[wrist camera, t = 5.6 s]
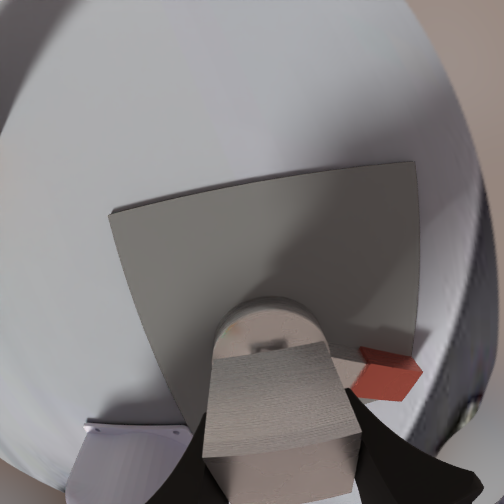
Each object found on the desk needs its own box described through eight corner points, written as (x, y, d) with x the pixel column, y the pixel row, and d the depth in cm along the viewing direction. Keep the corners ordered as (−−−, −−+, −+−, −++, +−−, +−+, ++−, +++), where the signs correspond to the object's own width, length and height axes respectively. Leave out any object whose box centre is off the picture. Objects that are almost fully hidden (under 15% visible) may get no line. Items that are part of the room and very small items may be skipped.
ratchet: (202, 368, 17) (192, 435, 12) (234, 281, 15) (231, 339, 10) (379, 402, 18) (405, 453, 13) (424, 335, 17) (465, 382, 12)
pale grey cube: (235, 427, 13) (235, 510, 8) (213, 359, 12) (201, 457, 7) (326, 411, 13) (351, 492, 8) (323, 340, 12) (362, 431, 7)
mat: (192, 430, 19) (191, 433, 18) (110, 214, 14) (107, 215, 14) (403, 388, 18) (405, 390, 18) (412, 161, 14) (415, 161, 13)
